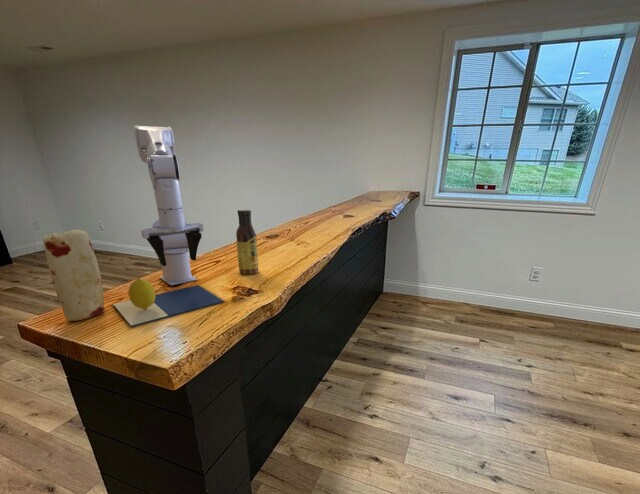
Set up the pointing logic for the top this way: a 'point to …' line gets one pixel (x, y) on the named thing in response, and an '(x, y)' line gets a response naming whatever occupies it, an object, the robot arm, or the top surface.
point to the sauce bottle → (246, 244)
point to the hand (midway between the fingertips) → (178, 262)
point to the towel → (167, 305)
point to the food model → (75, 274)
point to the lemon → (142, 293)
